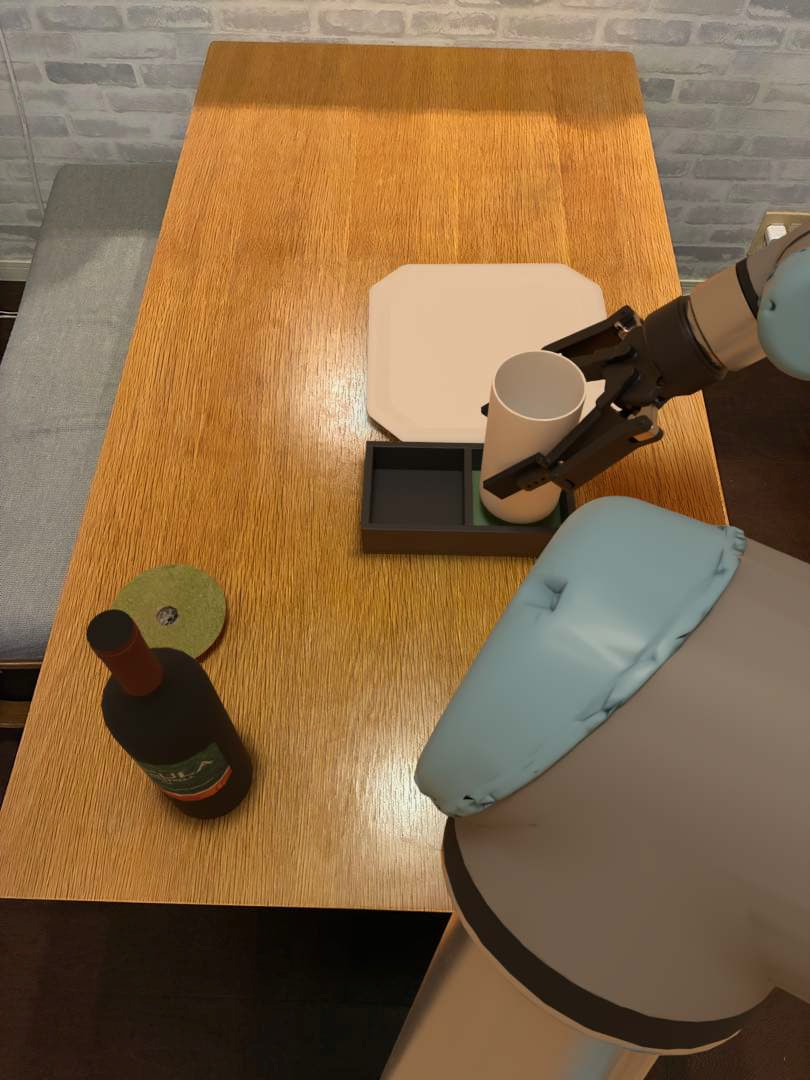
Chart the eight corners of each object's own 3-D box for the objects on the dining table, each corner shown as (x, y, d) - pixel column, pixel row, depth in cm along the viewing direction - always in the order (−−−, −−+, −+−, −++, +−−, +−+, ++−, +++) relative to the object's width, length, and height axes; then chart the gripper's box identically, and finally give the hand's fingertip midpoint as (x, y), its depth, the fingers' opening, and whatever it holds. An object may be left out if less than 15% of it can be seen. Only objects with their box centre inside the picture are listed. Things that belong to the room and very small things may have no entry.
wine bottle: (268, 755, 77) (198, 602, 51) (224, 834, 73) (126, 711, 48) (196, 721, 78) (94, 556, 53) (150, 797, 75) (17, 659, 49)
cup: (514, 538, 84) (534, 436, 71) (462, 483, 88) (472, 376, 74) (576, 497, 87) (607, 391, 73) (523, 445, 90) (544, 335, 77)
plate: (626, 453, 94) (631, 441, 93) (366, 455, 94) (365, 442, 93) (594, 274, 110) (597, 261, 108) (370, 276, 110) (369, 262, 108)
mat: (136, 565, 87) (131, 555, 85) (242, 581, 86) (239, 572, 84) (97, 666, 81) (90, 657, 80) (210, 684, 80) (206, 676, 79)
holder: (570, 557, 87) (578, 533, 84) (362, 553, 88) (360, 529, 84) (562, 470, 93) (569, 444, 89) (367, 466, 94) (366, 440, 90)
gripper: (755, 459, 65) (520, 561, 79) (710, 270, 76) (511, 388, 90) (706, 413, 60) (466, 529, 74) (666, 218, 71) (463, 352, 85)
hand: (491, 452), depth 82 cm, fingers closed on cup, 8 cm apart
